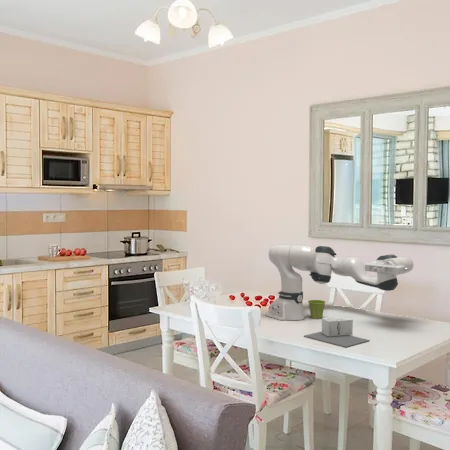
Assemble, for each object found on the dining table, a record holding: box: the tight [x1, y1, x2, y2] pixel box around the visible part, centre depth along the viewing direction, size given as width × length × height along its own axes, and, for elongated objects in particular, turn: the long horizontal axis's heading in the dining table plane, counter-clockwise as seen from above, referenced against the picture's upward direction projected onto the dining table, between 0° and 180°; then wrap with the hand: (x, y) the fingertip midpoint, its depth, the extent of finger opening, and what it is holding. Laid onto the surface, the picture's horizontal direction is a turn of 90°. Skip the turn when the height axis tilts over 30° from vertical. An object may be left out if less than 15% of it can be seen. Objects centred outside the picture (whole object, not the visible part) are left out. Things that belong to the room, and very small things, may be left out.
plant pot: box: [307, 299, 327, 319], centre depth 294 cm, size 9×9×9 cm
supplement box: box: [321, 316, 354, 337], centre depth 256 cm, size 7×7×13 cm
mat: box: [303, 330, 371, 349], centre depth 250 cm, size 24×17×1 cm
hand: (375, 270), depth 268 cm, fingers closed
